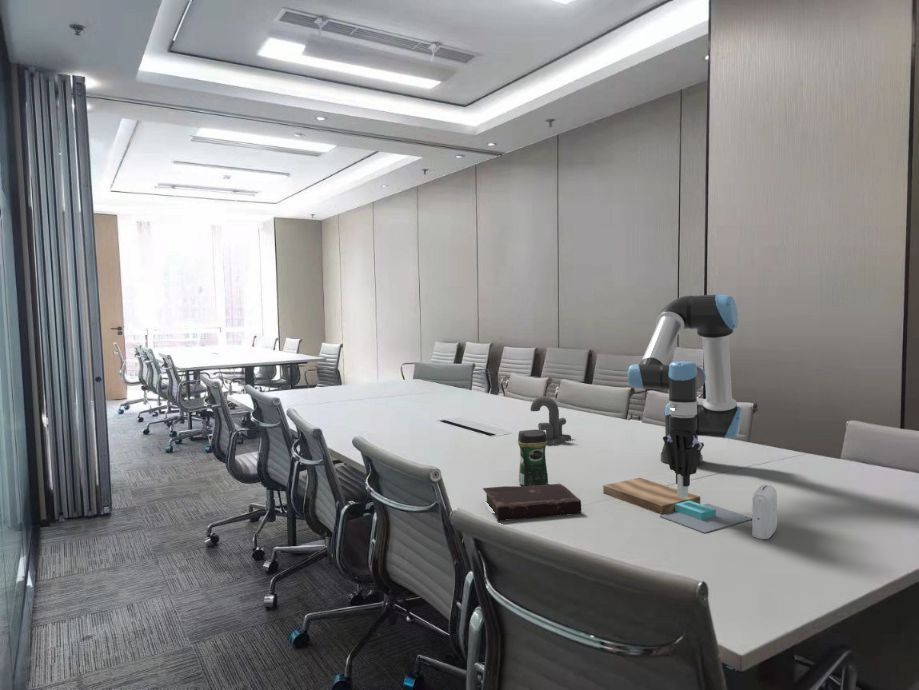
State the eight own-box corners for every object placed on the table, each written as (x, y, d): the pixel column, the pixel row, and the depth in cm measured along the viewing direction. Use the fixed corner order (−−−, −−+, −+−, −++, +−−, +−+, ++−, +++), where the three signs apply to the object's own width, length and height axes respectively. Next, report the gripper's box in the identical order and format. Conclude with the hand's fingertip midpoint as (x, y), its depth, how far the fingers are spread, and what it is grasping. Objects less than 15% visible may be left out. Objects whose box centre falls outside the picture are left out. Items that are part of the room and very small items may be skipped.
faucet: (540, 434, 283) (540, 392, 282) (571, 438, 274) (571, 394, 273) (521, 442, 269) (520, 397, 268) (553, 446, 260) (552, 400, 258)
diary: (581, 516, 173) (581, 499, 172) (497, 524, 168) (497, 506, 167) (558, 496, 191) (558, 481, 190) (482, 502, 186) (482, 487, 186)
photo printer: (768, 541, 150) (769, 492, 149) (750, 537, 152) (750, 489, 152) (778, 529, 158) (779, 483, 157) (760, 526, 160) (761, 480, 160)
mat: (707, 504, 179) (707, 503, 178) (753, 519, 165) (753, 518, 165) (659, 516, 169) (659, 515, 169) (704, 533, 156) (704, 532, 156)
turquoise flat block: (689, 507, 175) (689, 500, 175) (715, 516, 168) (715, 509, 167) (675, 510, 173) (675, 504, 172) (701, 520, 165) (701, 513, 165)
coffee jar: (542, 480, 208) (542, 427, 207) (550, 486, 200) (550, 431, 199) (515, 482, 206) (515, 428, 205) (522, 488, 198) (521, 433, 197)
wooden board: (639, 485, 199) (639, 477, 199) (700, 504, 178) (700, 496, 178) (603, 493, 192) (603, 485, 192) (661, 514, 171) (661, 505, 171)
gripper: (656, 413, 176) (656, 492, 178) (692, 420, 165) (692, 504, 166) (674, 411, 180) (674, 488, 181) (710, 417, 169) (710, 500, 170)
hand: (682, 496), depth 174 cm, fingers closed
